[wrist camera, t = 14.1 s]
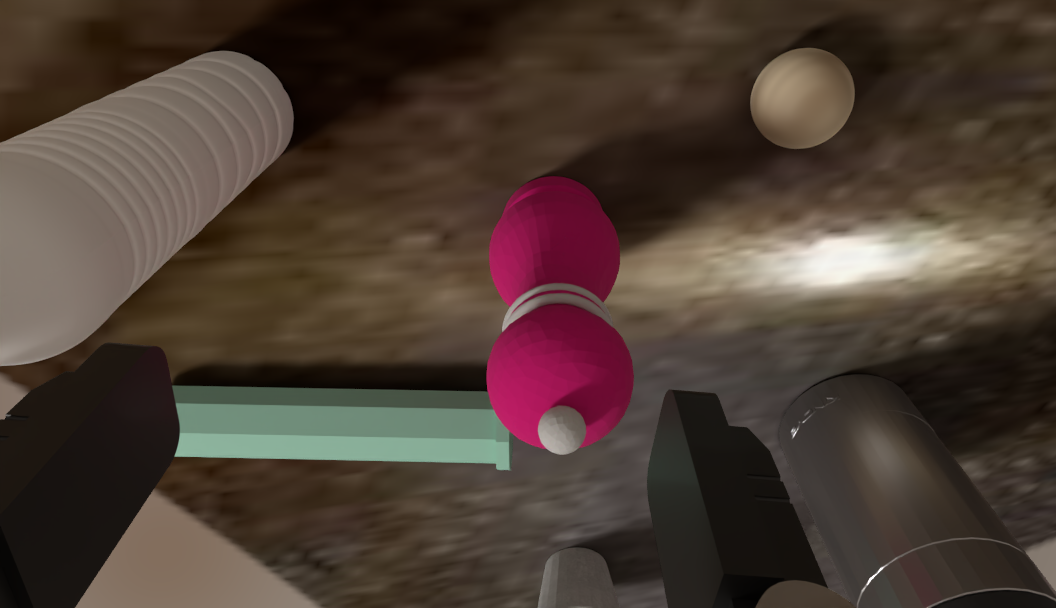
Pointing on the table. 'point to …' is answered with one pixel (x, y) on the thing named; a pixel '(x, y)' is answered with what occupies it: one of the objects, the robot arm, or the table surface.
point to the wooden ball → (802, 98)
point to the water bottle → (125, 192)
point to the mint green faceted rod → (341, 425)
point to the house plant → (577, 581)
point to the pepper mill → (557, 318)
